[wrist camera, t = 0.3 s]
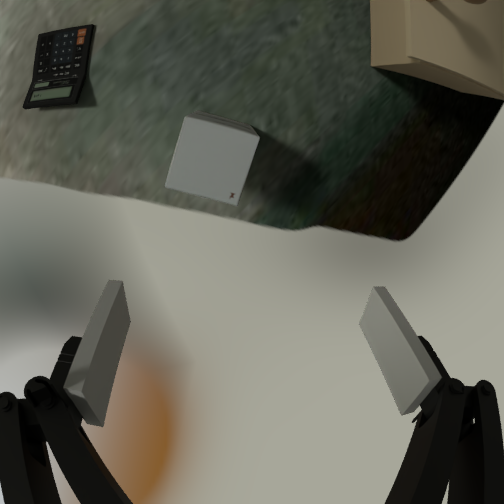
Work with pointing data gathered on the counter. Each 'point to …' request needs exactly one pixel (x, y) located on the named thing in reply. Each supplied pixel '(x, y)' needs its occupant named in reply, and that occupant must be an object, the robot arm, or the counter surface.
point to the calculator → (59, 67)
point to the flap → (459, 37)
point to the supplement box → (212, 157)
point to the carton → (394, 51)
